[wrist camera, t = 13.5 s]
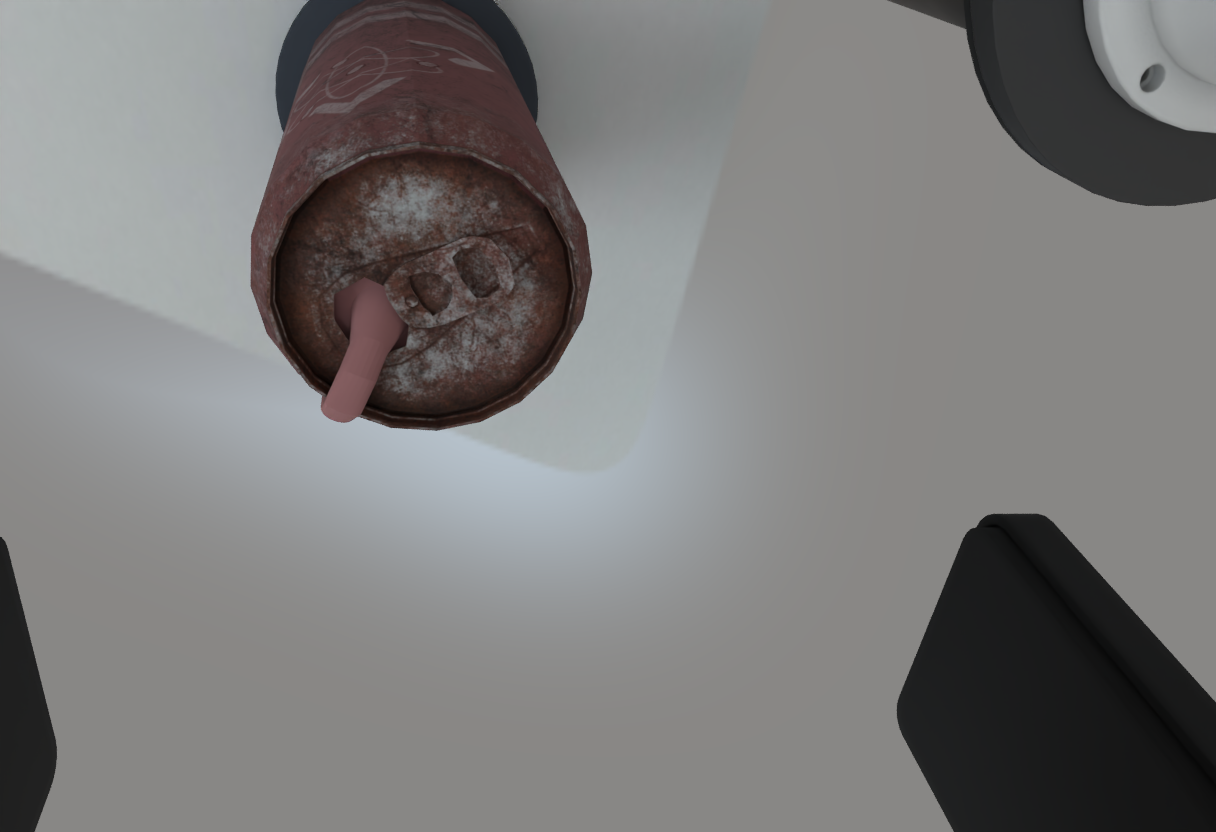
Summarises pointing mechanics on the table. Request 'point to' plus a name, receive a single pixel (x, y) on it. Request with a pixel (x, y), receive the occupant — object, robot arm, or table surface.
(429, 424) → the can
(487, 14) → the coaster
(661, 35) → the table surface
